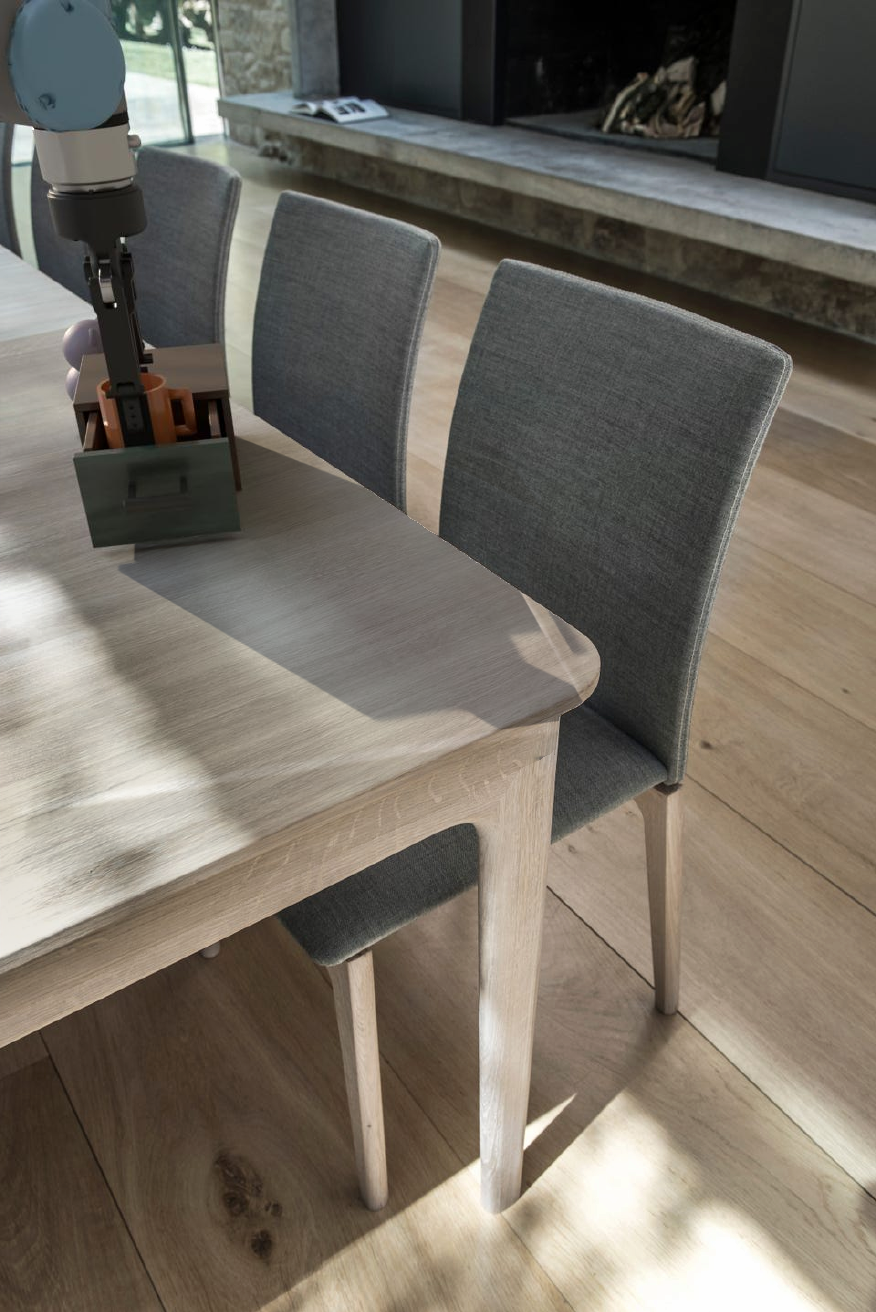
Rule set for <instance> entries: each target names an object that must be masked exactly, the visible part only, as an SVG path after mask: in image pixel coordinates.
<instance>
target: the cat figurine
mask: <svg viewBox="0 0 876 1312" xmlns="http://www.w3.org/2000/svg"><path fill="white" fill-rule="evenodd" d="M61 348H62V354H63V356H64V359H65V361H66V362H67V363H68V365H70V366H71V368H70V370H69V371H68V373H67V375H66V378H65V390H66V393H67V396H68V397H69V399H70V400H71V401H72V402H73V401H74V396H75V392H76V387H77V382H78V378H79V373H80V368H81V364H82V359H83V355H89V354H101V353H104V350H103V345H102V340H101V335H100V329H99V324H98V319H97V316H96V317H95V318H94V319H93V318H91V319H90V318H88V319H83V320H79V321H77V322H75V323H73V324H72V325H70V327H69V328H68V329H66V332H65V333H64V334H63V337H62V342H61Z"/></svg>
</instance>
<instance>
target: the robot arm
mask: <svg viewBox="0 0 876 1312" xmlns="http://www.w3.org/2000/svg"><path fill="white" fill-rule="evenodd" d="M113 15H114V14H113V12H112V6H111V2H110V0H0V123H2V124H3V123H4V124H11V125H18V126H25V127H31V131H32V134H33V140H34V144H35V150H36V154H37V159H38V163H39V167H40V172H41V176H42V180H43V181H45V182H46V183H48V184H49V185H51V187H50V188H49V190H48V192H47V194H46V197H47V200H48V205H49V210H50V215H51V220H52V224H53V229H54V232H55V234H56V235H57V236H58V237H59V238H61V239H62V240H66V241H69V242H79V241H80V242H84V243H86V244H87V247H88V254H85V255H84V261H83V262H82V268H83V274H84V280H85V282H86V283H87V284H88V289H89V292H90V297H91V303H92V309H93V312H94V313H95V315H96V317H97V319H98V324H99V329H100V335H101V340H102V345H103V350H104V355H105V360H106V365H107V370H108V375H109V380H110V385H111V388H110V392H105V395H106V399H113V398H115V402H116V407H117V412H118V417H119V422H120V427H121V431H122V436H123V441H124V446H125V448H128V447H138V446H148V445H156V441H155V436H154V431H153V425H152V420H151V415H150V409H149V404H148V398H147V393H146V391H145V387H144V385H143V384H142V378H141V373H148V368H147V366H146V367H141V365H142V364H153V363H154V362H153V355H152V353H148V354H144V350H146V343H145V341H144V339H143V334H142V329H141V324H140V318H139V313H138V309H137V308H138V307H137V302H136V301H137V299H138V294H137V286H136V282H135V261H134V257H133V253H132V251H129V250H128V246H127V245H126V243H125V242H122V238H125V239H128V238H131V237H134V236H137V235H139V234H142V233H143V232H144V231H145V230H146V229H147V227H148V220H147V219H148V218H147V214H146V207H145V202H144V201H145V200H144V195H143V189H142V186H141V185H139V183H138V182H137V181H135V180H132V179H133V178H134V177H135V176H136V175H137V174H138V172H139V170H138V164H137V158H136V154H135V153H136V152H134V150H133V149H138V148H141V146H142V139H141V138H140V136H139V134H129V133H130V130H131V123H130V117H129V112H128V110H129V109H128V103H127V97H126V91H125V83H126V77H127V76H126V75H127V71H126V67H127V66H126V59H125V54H124V50H123V47H122V43H121V40H120V38H119V36H118V34H117V32H116V30H117V25H116V21H115V18H114V16H113Z"/></svg>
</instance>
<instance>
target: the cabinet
mask: <svg viewBox="0 0 876 1312" xmlns="http://www.w3.org/2000/svg"><path fill="white" fill-rule="evenodd" d="M148 353H152V355H153V362H154V363H153V364H142V365H141V367H146V366H147V368H148V373H154V374H158V375H162V376H164V377H165V378H167V382H168V388H169V389H172V388H182V387H188V388H189V389H190V390H191V393H192V399H193V401H195V400H205V399H216V402H217V409H218V416H219V423H220V429H221V436H222V438H225V437H228V439H229V446H230V453H231V460H232V467H233V474H234V481H235V488H236V491H242V490H243V487H242V481H241V473H240V465H239V457H238V451H237V444H236V437H235V436H236V435H235V429H234V422H233V421H234V420H233V416H232V409H231V408H232V407H231V401H230V393H229V386H228V380H227V373H226V372H227V371H226V366H225V361H224V360H225V359H224V353H223V346H222V343H221V342H216V343H215V342H214V343H205V344H204V343H203V344H193V345H182V346H170V347H169V346H168V347H160V348H149V349H148V348H147V349H146V348H145V349H144V354H148ZM107 379H109V375H108V370H107V365H106V360H105V355H104V353H101V354H89V355H83V359H82V364H81V368H80V373H79V378H78V382H77V387H76V392H75V396H74V401H72V407H73V412H74V416H75V422H76V425H77V429H78V434H79V439H80V444H81V448H82V452H84V450H83V448H84V442H85V437H86V431H87V425H88V419H89V413H90V411H91V410H101V408H100V403H99V398H98V394H97V385H99V384H100V383H101V382H102V381H104V380H107ZM174 402H182V400H181V399H175V400H171V403H174Z"/></svg>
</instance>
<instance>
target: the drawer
mask: <svg viewBox="0 0 876 1312" xmlns="http://www.w3.org/2000/svg"><path fill="white" fill-rule="evenodd" d="M171 405H172V411H173V416H174V422H175V426H179V425H186V424H185V418H184V412H183V406H182V402H174V403H171ZM193 405H194V411H195V417H196V424H197V433H196V434H195V435H188V436H179V437H177V439H178V442H177V443H167V444H157V445H148V446H138V447H128V448H118V449H109V445H108V440H107V435H106V431H105V426H104V421H103V417H102V412H101V410H91V411H90V413H89V419H88V425H87V431H86V437H85V442H84V448H82V451H80V452H73V455H72V462H73V466H74V470H75V475H76V480H77V483H78V488H79V493H80V497H81V501H82V506H83V511H84V513H85V517H86V518H85V519H86V523H87V526H88V531H89V535H90V540H91V544H92V547H93V549H101V548H109V547H116V546H126V545H133V544H142V543H150V542H161V541H168V540H177V539H184V538H185V539H186V538H193V537H203V536H209V535H219V534H220V535H221V534H227V533H234V532H235V533H236V532H242V525H241V517H240V510H239V504H238V496H237V490H236V488H235V481H234V474H233V467H232V460H231V453H230V446H229V439H228V437H225V438H222V436H221V429H220V423H219V416H218V409H217V402H216V399H205V400H195V401H193ZM83 450H84V452H83Z"/></svg>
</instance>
